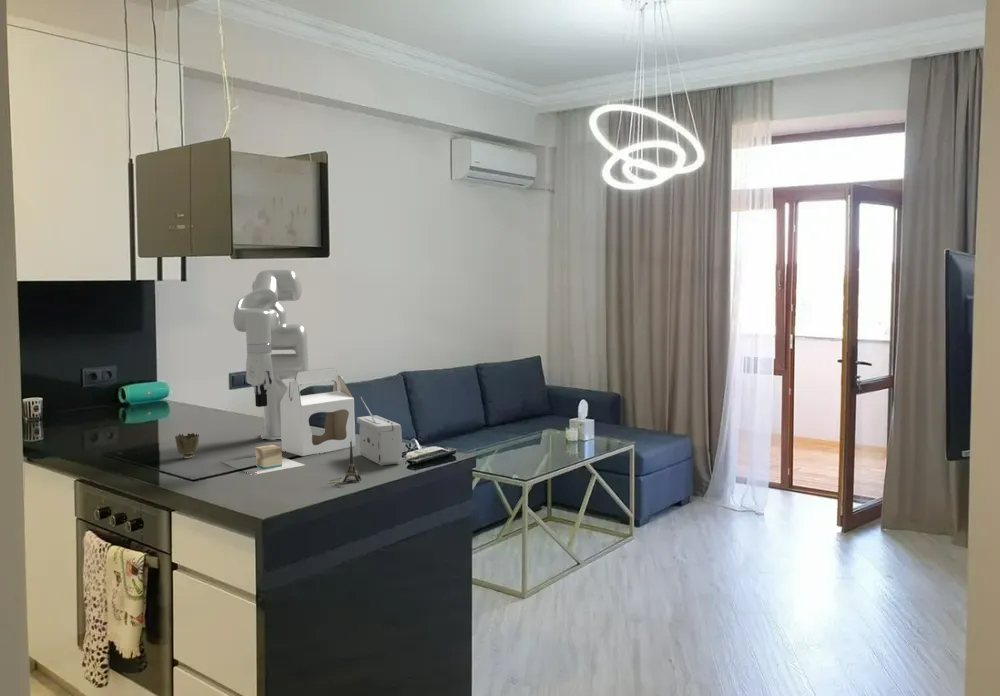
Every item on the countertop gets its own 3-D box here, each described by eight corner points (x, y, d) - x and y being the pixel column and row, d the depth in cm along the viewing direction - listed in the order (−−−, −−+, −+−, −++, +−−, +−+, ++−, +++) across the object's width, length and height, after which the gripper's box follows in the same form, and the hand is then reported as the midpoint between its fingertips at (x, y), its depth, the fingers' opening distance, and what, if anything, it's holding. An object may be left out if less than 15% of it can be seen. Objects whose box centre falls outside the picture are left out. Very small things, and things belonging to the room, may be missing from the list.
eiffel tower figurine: (360, 474, 244) (359, 431, 243) (382, 479, 238) (381, 435, 237) (320, 484, 233) (318, 439, 232) (341, 490, 227) (340, 443, 225)
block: (263, 450, 248) (264, 469, 249) (281, 447, 252) (282, 466, 253) (255, 447, 253) (255, 466, 254) (272, 444, 257) (273, 463, 257)
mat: (219, 462, 260) (219, 461, 260) (271, 454, 272) (271, 453, 272) (252, 475, 242) (252, 474, 242) (305, 465, 254) (305, 465, 254)
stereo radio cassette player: (403, 464, 255) (402, 402, 253) (379, 467, 251) (377, 404, 249) (379, 452, 273) (378, 394, 271) (356, 455, 269) (355, 396, 267)
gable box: (334, 441, 292) (332, 365, 290) (356, 446, 283) (354, 368, 281) (280, 451, 276) (277, 371, 274) (302, 457, 267) (299, 374, 265)
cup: (199, 455, 272) (198, 432, 271) (201, 459, 265) (199, 435, 265) (175, 457, 269) (174, 434, 268) (176, 461, 262) (175, 437, 261)
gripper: (237, 348, 256) (240, 404, 258) (258, 351, 245) (261, 410, 247) (259, 346, 261) (261, 402, 263) (281, 349, 250) (283, 407, 252)
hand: (261, 406), depth 255 cm, fingers closed
